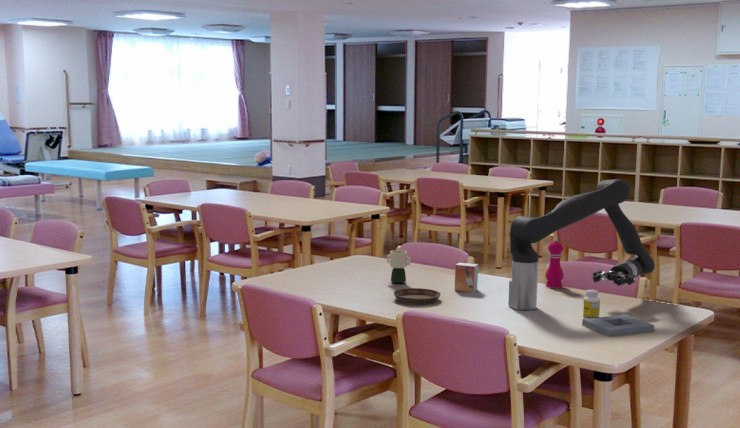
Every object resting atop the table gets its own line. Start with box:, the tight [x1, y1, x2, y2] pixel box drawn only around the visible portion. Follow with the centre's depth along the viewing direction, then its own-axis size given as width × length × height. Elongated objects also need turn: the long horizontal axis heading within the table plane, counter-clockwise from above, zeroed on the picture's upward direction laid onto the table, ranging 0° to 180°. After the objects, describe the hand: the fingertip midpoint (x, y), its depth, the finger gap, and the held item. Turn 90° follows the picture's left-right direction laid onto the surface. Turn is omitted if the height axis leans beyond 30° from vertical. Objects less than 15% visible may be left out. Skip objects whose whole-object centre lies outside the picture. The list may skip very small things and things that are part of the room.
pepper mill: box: [544, 237, 564, 289], centre depth 330 cm, size 7×7×20 cm
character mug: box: [386, 249, 412, 284], centre depth 335 cm, size 11×7×13 cm, turn 59°
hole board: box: [581, 314, 655, 337], centre depth 272 cm, size 18×14×2 cm
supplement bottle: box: [582, 289, 601, 319], centre depth 283 cm, size 5×5×10 cm
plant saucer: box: [393, 287, 442, 306], centre depth 307 cm, size 18×18×3 cm
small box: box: [454, 262, 479, 293], centre depth 323 cm, size 8×6×10 cm
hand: (606, 281), depth 291 cm, fingers open, 8 cm apart
